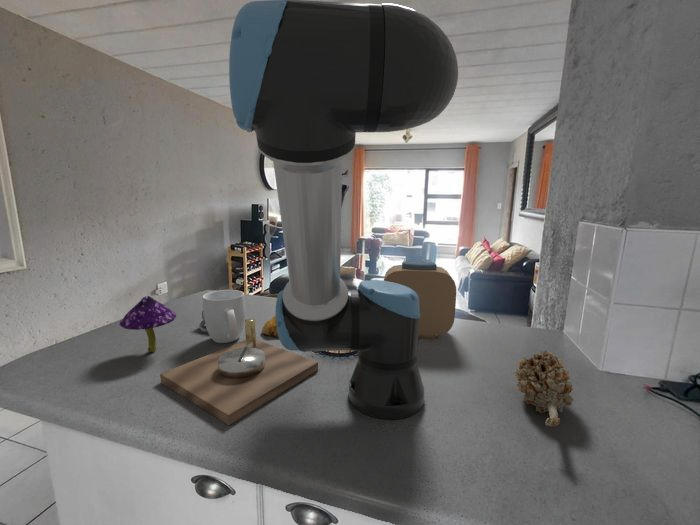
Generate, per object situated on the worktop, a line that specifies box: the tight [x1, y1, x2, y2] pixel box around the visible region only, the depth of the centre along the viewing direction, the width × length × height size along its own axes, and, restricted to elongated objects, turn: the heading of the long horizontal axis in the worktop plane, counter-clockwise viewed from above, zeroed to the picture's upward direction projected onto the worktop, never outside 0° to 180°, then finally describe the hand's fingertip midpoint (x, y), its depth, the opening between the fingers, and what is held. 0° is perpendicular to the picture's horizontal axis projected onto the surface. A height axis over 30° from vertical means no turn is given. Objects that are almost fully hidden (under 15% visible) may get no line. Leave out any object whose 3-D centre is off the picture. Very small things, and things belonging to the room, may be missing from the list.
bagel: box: [261, 315, 279, 338], centre depth 100 cm, size 10×11×5 cm
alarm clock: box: [383, 261, 457, 339], centre depth 99 cm, size 21×10×22 cm, turn 82°
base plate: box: [159, 339, 319, 426], centre depth 74 cm, size 24×24×2 cm
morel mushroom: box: [514, 350, 575, 427], centre depth 61 cm, size 22×10×10 cm, turn 161°
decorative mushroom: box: [119, 295, 177, 353], centre depth 84 cm, size 12×12×15 cm
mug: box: [202, 289, 246, 344], centre depth 92 cm, size 15×11×13 cm
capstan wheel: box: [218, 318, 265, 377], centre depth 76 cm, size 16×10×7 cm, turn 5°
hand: (323, 249), depth 87 cm, fingers closed
